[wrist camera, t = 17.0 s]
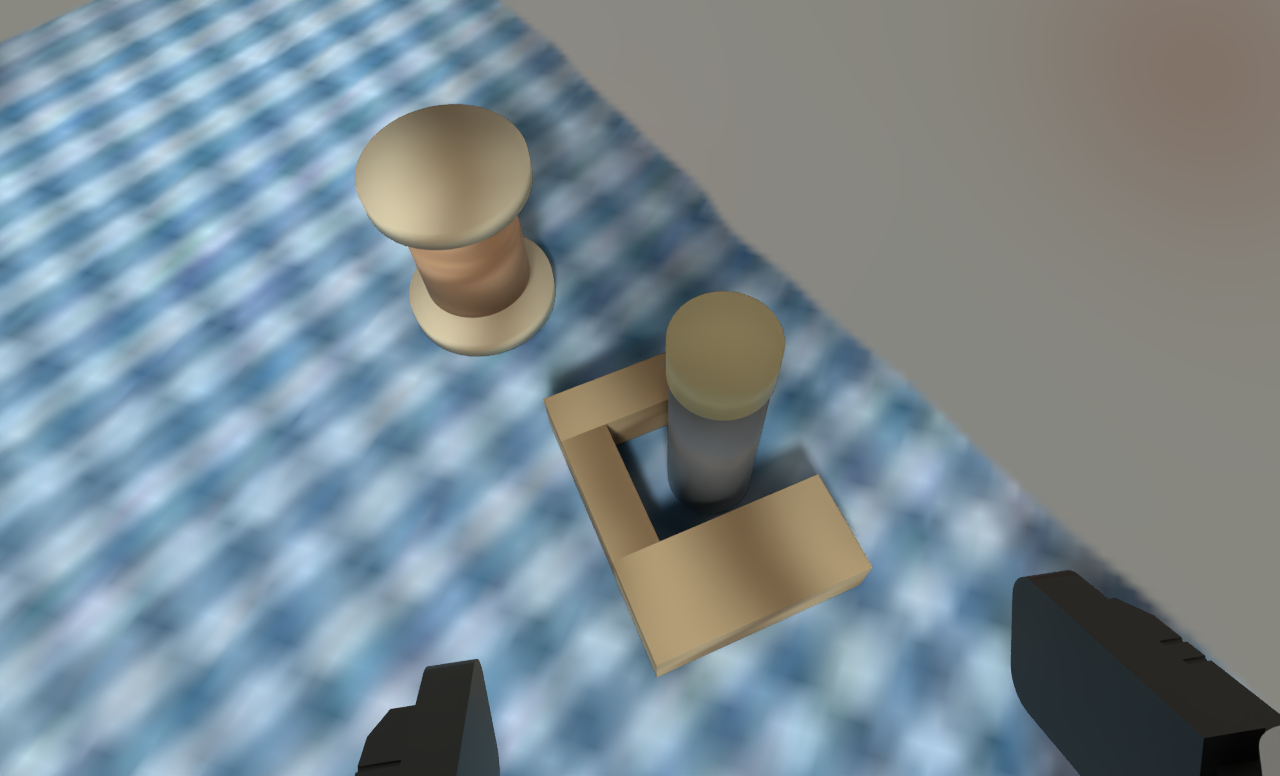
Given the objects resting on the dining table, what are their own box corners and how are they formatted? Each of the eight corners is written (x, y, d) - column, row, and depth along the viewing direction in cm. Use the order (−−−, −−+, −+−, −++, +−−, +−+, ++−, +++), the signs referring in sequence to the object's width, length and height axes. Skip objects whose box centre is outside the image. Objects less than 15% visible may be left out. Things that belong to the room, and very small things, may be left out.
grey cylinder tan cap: (687, 529, 35) (696, 408, 25) (651, 454, 36) (647, 315, 27) (767, 495, 35) (806, 365, 26) (728, 423, 37) (751, 275, 27)
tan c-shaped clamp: (657, 677, 32) (656, 665, 30) (550, 424, 37) (543, 399, 35) (859, 584, 33) (872, 567, 31) (728, 354, 39) (732, 326, 37)
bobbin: (437, 376, 39) (379, 257, 31) (398, 268, 42) (337, 134, 34) (575, 325, 40) (554, 198, 32) (528, 223, 43) (497, 85, 35)
